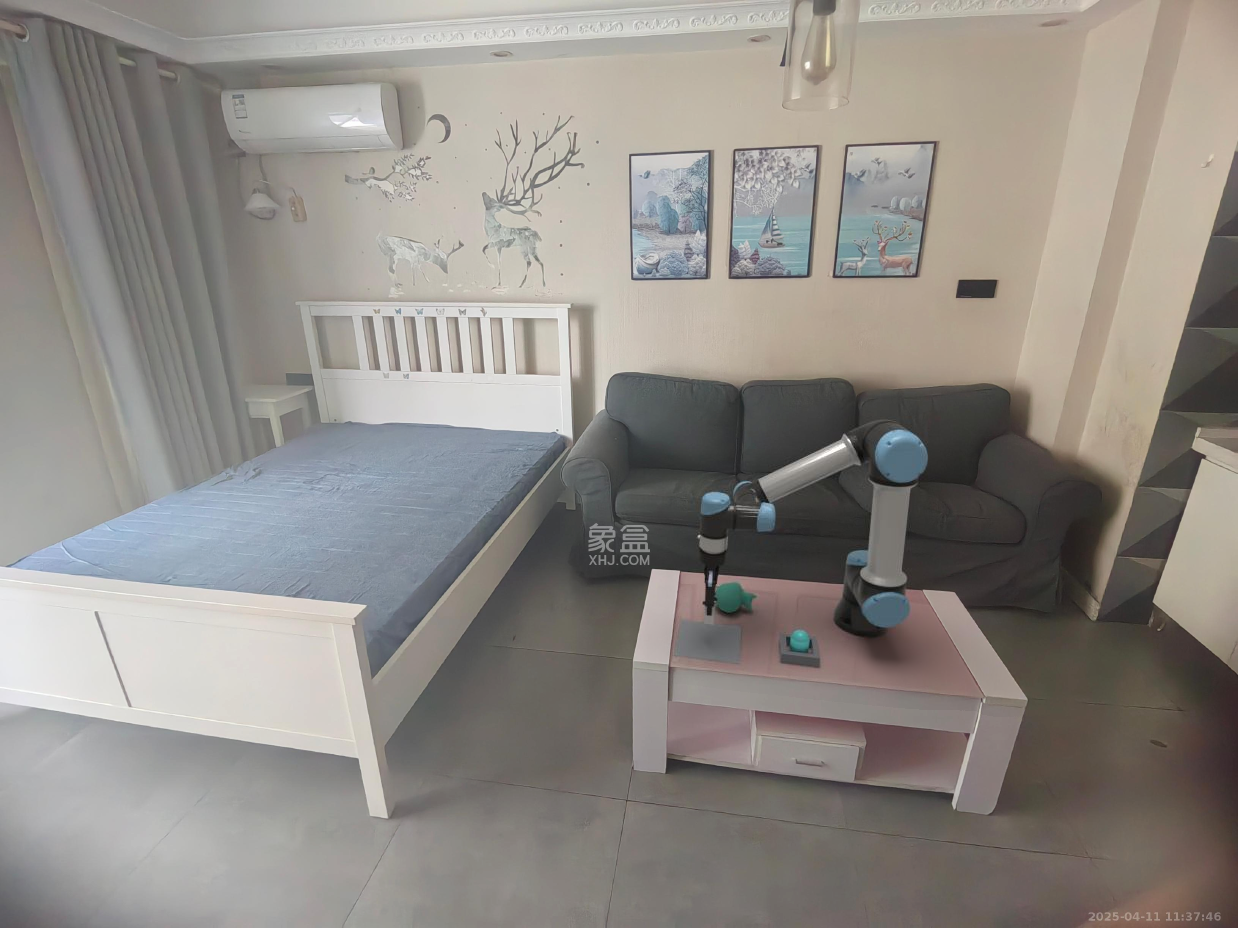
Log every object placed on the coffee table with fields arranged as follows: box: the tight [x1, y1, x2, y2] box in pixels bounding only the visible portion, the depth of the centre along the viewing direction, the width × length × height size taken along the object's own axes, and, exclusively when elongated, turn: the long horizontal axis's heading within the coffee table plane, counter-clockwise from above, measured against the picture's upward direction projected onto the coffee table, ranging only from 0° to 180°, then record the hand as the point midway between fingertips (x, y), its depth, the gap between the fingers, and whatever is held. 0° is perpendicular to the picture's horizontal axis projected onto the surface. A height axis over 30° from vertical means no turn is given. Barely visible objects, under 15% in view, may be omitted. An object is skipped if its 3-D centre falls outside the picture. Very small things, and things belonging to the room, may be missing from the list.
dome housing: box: [779, 632, 821, 668], centre depth 170 cm, size 10×10×3 cm
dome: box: [789, 629, 810, 654], centre depth 170 cm, size 5×5×7 cm
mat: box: [673, 619, 742, 665], centre depth 177 cm, size 18×18×1 cm
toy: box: [714, 581, 757, 614], centre depth 192 cm, size 10×10×15 cm
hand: (708, 622), depth 175 cm, fingers closed
